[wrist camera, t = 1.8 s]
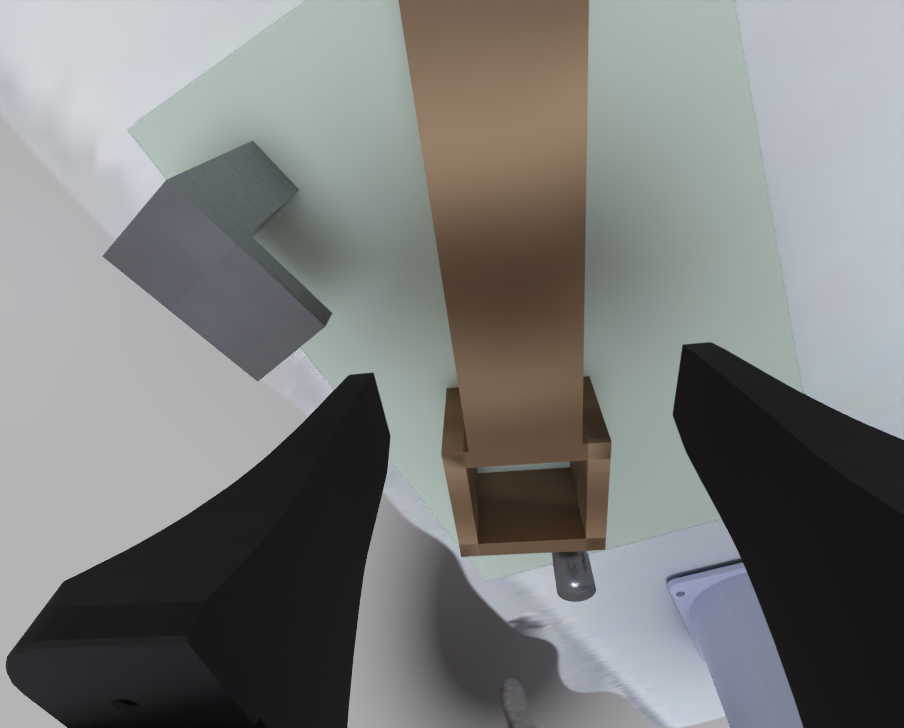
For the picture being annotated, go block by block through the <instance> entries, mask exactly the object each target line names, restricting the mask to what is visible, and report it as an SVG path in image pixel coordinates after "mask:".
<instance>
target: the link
mask: <svg viewBox="0 0 904 728" xmlns="http://www.w3.org/2000/svg"><path fill="white" fill-rule="evenodd" d="M398 1H399V7H400V14H401V20H402V26H403V33H404V39H405V46H406V52H407V59H408V65H409V71H410V78H411V84H412V91H413V97H414V104H415V110H416V116H417V123H418V129H419V136H420V142H421V149H422V155H423V161H424V168H425V174H426V181H427V187H428V194H429V200H430V206H431V213H432V219H433V226H434V232H435V239H436V245H437V251H438V258H439V264H440V271H441V277H442V284H443V290H444V296H445V303H446V309H447V316H448V322H449V329H450V335H451V341H452V348H453V354H454V361H455V367H456V374H457V380H458V386H459V387H457V388H447V390H446V402H445V414H444V426H443V438H442V450H441V456H442V461H443V466H444V471H445V476H446V481H447V486H448V491H449V496H450V501H451V506H452V511H453V517H454V522H455V527H456V532H457V537H458V542H459V547H460V552H461V557H468V556H489V555H510V554H531V553H552V552H573V551H594V550H605V548H606V531H607V514H608V496H609V479H610V462H611V445H612V441H611V439H610V436H609V433H608V430H607V427H606V424H605V421H604V418H603V415H602V412H601V409H600V406H599V403H598V400H597V397H596V394H595V391H594V388H593V385H592V382H591V379H590V376H587V377H583V369H584V303H585V236H586V170H587V103H588V37H589V0H398ZM569 461H570V467H566V468H551V469H536V470H520V471H505V472H490V473H478V471H477V468H479V467H494V466H509V465H524V464H539V463H554V462H569Z"/></svg>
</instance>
